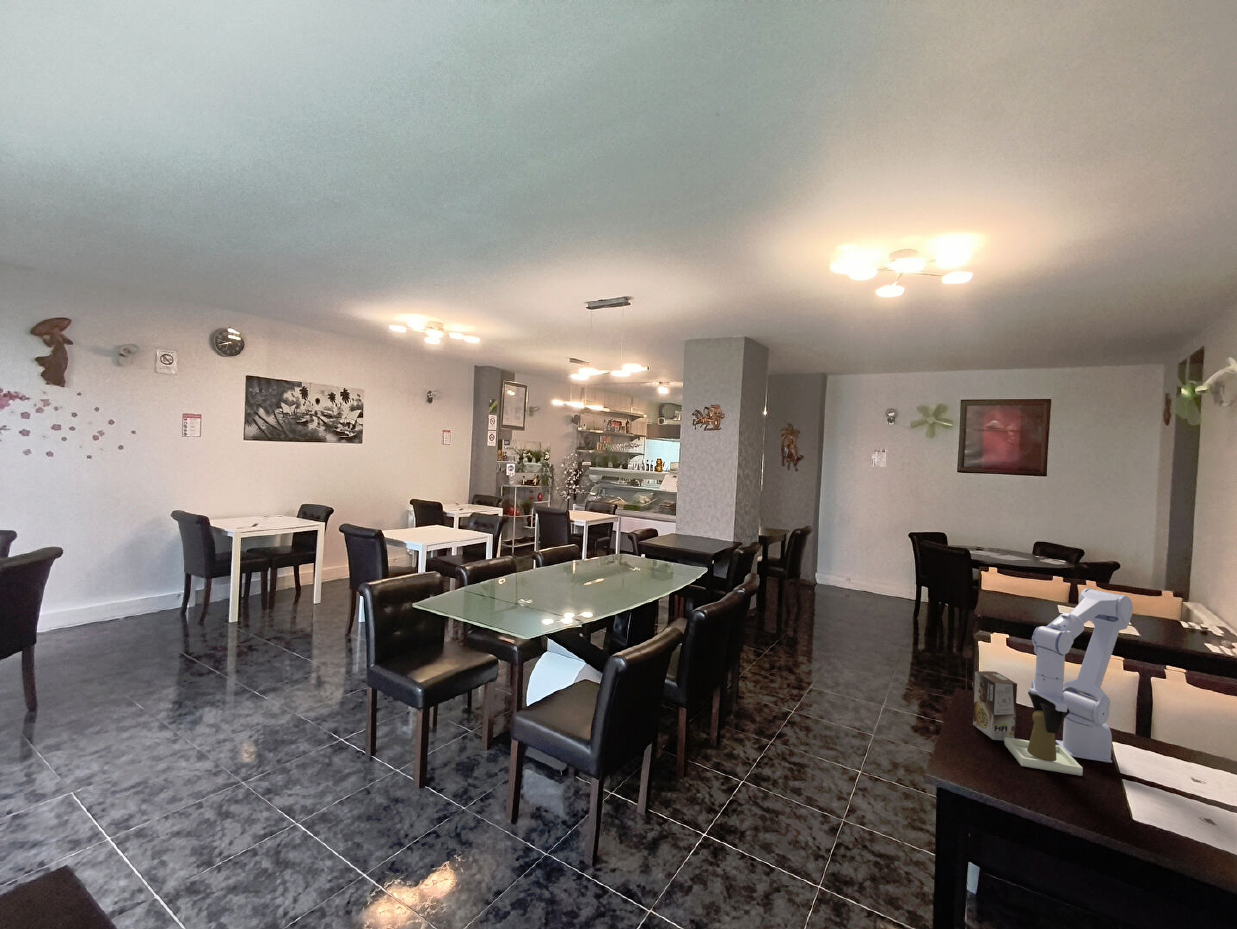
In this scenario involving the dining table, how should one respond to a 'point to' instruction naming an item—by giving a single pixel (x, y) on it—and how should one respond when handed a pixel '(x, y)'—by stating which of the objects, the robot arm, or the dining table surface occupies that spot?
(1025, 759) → the tray
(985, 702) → the coffee box
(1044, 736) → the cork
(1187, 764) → the dining table surface
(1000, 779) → the dining table surface
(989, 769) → the dining table surface
